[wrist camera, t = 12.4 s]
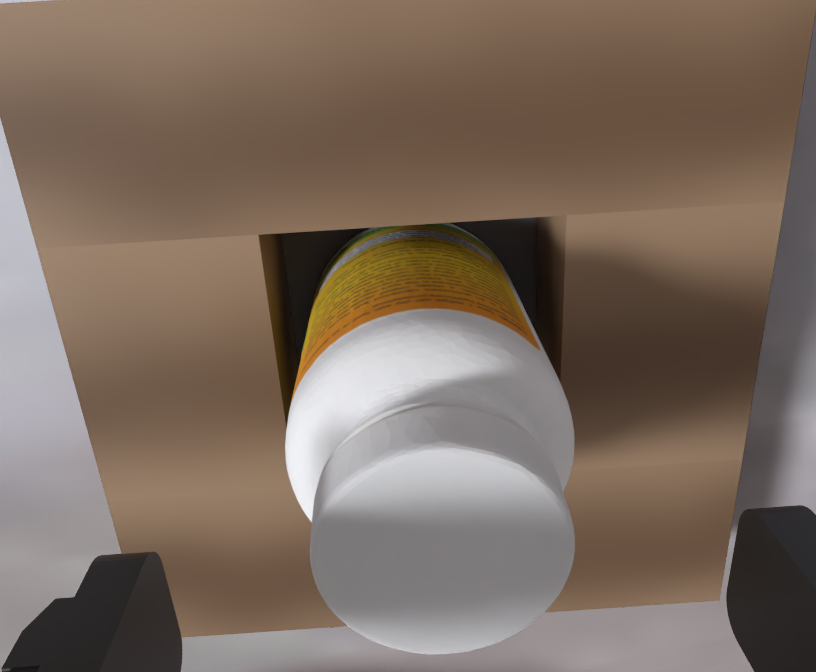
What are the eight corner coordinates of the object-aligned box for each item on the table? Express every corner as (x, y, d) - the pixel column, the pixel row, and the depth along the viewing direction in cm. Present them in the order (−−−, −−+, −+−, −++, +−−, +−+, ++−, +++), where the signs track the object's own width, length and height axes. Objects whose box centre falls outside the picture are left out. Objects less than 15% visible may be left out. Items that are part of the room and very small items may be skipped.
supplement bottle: (274, 277, 19) (182, 511, 10) (454, 173, 18) (526, 332, 9) (378, 428, 21) (378, 733, 12) (545, 342, 20) (678, 606, 11)
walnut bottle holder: (38, 6, 16) (-31, 5, 13) (750, -36, 16) (824, -46, 14) (174, 564, 23) (145, 639, 20) (679, 529, 23) (719, 600, 20)
